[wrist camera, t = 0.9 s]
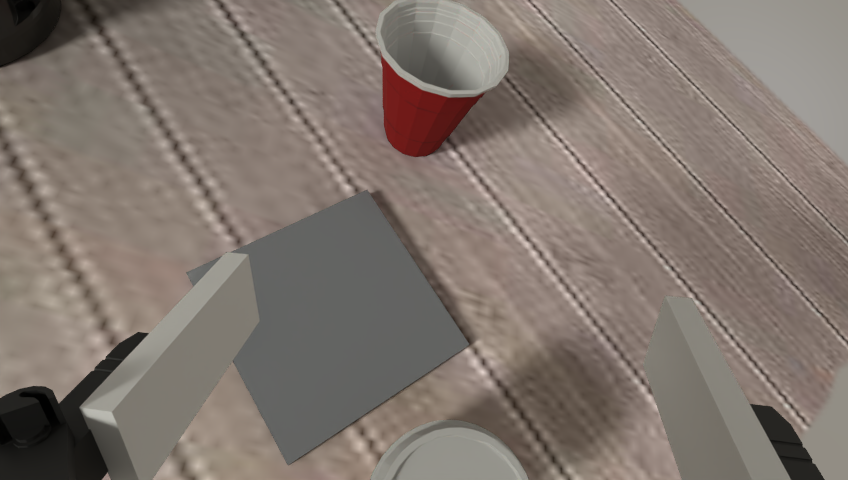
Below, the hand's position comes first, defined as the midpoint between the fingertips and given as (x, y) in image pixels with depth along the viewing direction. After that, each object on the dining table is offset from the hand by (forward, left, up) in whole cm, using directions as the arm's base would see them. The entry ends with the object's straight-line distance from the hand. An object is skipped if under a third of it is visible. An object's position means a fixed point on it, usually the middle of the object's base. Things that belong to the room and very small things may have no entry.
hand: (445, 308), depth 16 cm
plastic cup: (-19, +17, -25) cm, 36 cm away
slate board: (-7, +1, -25) cm, 26 cm away
